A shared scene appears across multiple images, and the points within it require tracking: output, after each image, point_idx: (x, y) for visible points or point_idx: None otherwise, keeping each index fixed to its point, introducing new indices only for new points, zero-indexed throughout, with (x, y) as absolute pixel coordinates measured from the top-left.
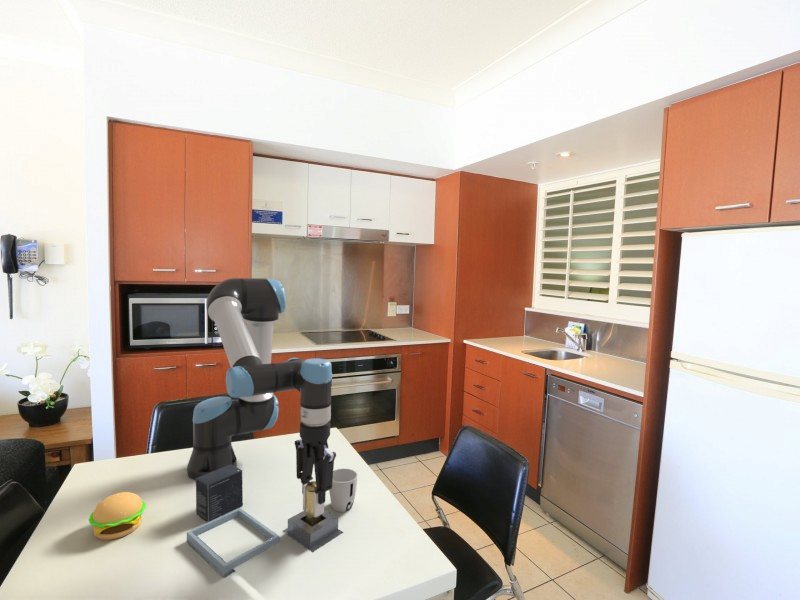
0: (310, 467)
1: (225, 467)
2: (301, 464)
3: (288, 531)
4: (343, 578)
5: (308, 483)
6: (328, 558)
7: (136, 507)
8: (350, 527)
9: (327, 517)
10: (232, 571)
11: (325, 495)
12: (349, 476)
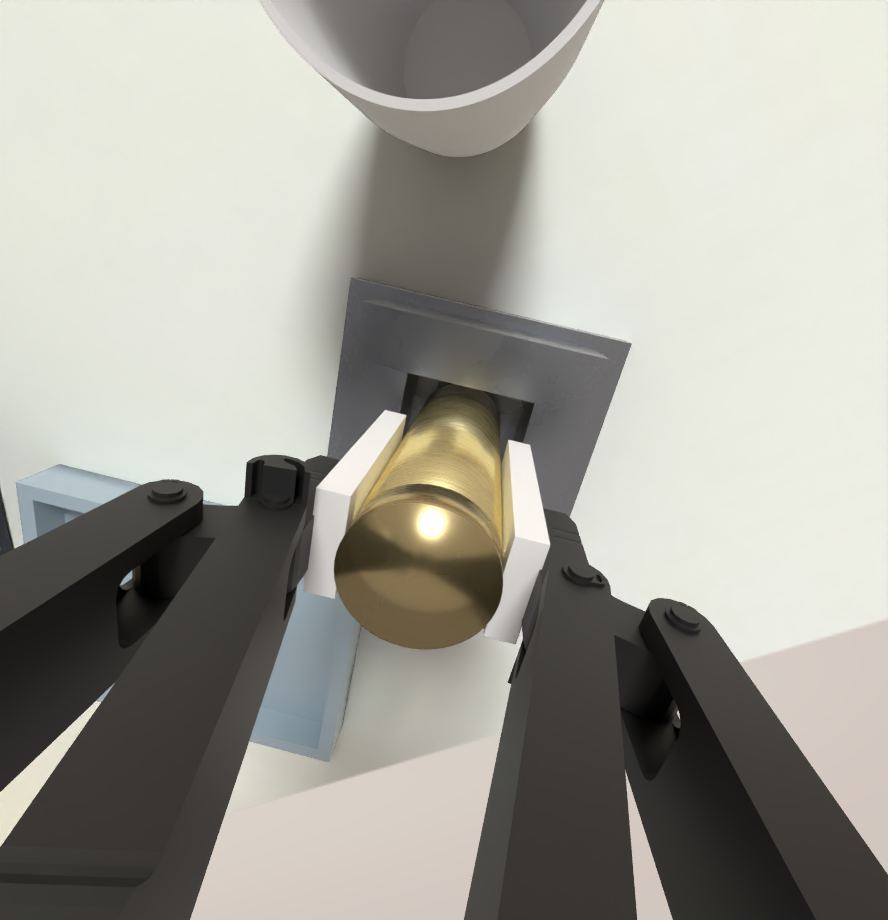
0: (242, 697)
1: None
2: (46, 704)
3: None
4: (760, 587)
5: (345, 583)
6: (634, 518)
7: None
8: (627, 242)
9: (535, 394)
10: (344, 708)
11: (583, 549)
12: None
